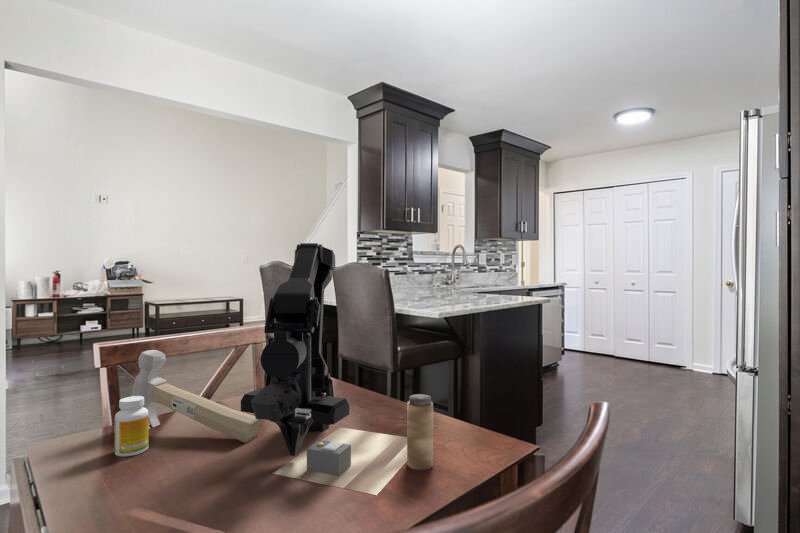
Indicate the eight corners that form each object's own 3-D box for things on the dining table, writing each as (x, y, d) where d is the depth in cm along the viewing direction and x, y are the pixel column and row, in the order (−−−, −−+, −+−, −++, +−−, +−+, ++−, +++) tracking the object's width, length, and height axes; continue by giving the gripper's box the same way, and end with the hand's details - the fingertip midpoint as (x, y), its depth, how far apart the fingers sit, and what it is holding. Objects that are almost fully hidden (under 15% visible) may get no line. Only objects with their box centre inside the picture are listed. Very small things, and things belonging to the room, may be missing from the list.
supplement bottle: (155, 448, 83) (155, 396, 83) (126, 459, 78) (127, 404, 78) (136, 443, 85) (136, 393, 85) (107, 454, 80) (107, 400, 80)
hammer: (269, 390, 87) (155, 348, 96) (254, 397, 83) (136, 351, 92) (254, 465, 88) (142, 416, 97) (238, 475, 84) (123, 423, 93)
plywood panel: (272, 478, 71) (272, 473, 71) (340, 431, 91) (340, 427, 91) (376, 500, 64) (376, 495, 64) (425, 444, 84) (425, 440, 84)
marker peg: (403, 472, 73) (403, 399, 73) (412, 461, 77) (412, 392, 77) (428, 476, 71) (428, 402, 71) (436, 465, 75) (436, 395, 75)
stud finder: (306, 470, 72) (306, 446, 72) (319, 460, 75) (320, 437, 75) (338, 476, 69) (338, 452, 70) (350, 465, 73) (350, 443, 73)
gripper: (216, 369, 71) (216, 465, 71) (314, 380, 64) (314, 487, 64) (262, 356, 82) (262, 440, 81) (350, 364, 74) (351, 456, 74)
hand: (294, 455), depth 75 cm, fingers closed
